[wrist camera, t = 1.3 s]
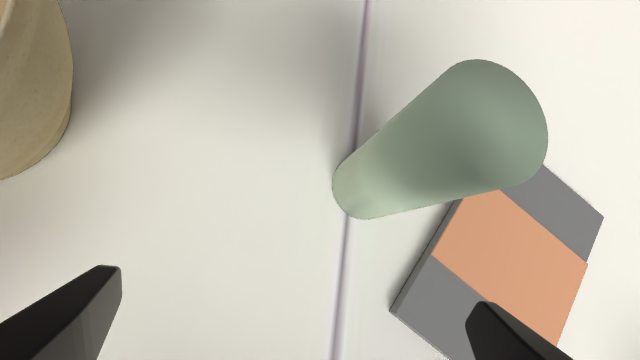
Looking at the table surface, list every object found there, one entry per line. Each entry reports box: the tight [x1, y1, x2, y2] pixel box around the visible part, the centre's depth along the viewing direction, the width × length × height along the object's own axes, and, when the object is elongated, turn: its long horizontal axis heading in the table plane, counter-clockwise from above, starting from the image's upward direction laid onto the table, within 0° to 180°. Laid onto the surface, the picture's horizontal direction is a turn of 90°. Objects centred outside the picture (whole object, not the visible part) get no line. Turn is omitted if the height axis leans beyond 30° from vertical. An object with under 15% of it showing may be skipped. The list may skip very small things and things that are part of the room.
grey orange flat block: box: [389, 164, 604, 360], centre depth 25 cm, size 18×12×1 cm, turn 143°
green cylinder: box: [332, 59, 548, 220], centre depth 18 cm, size 5×5×13 cm
